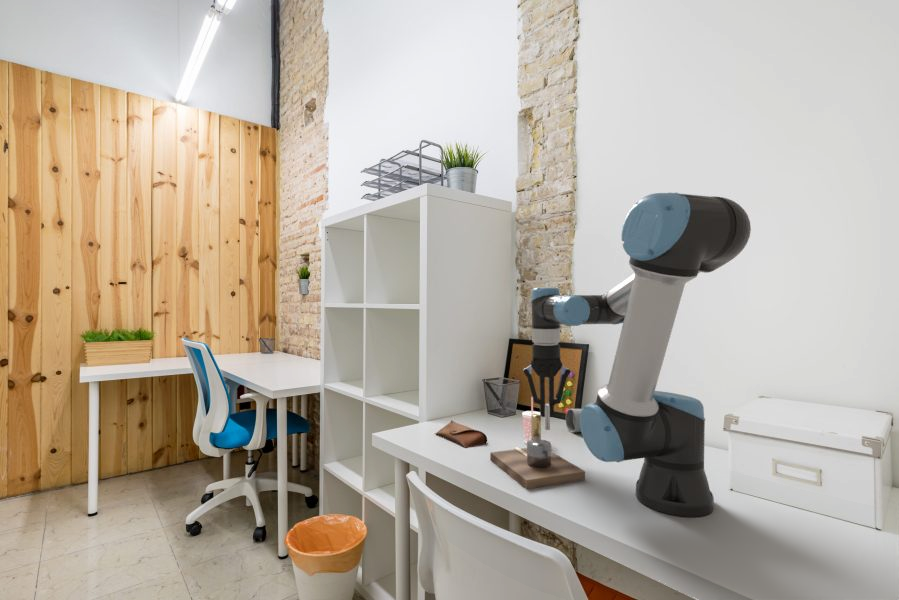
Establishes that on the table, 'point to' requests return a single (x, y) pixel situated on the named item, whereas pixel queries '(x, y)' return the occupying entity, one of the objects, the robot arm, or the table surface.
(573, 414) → the ceramic mug
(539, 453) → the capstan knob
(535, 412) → the beverage cup
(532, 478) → the walnut stand plate
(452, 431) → the sunglasses case
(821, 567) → the table surface
